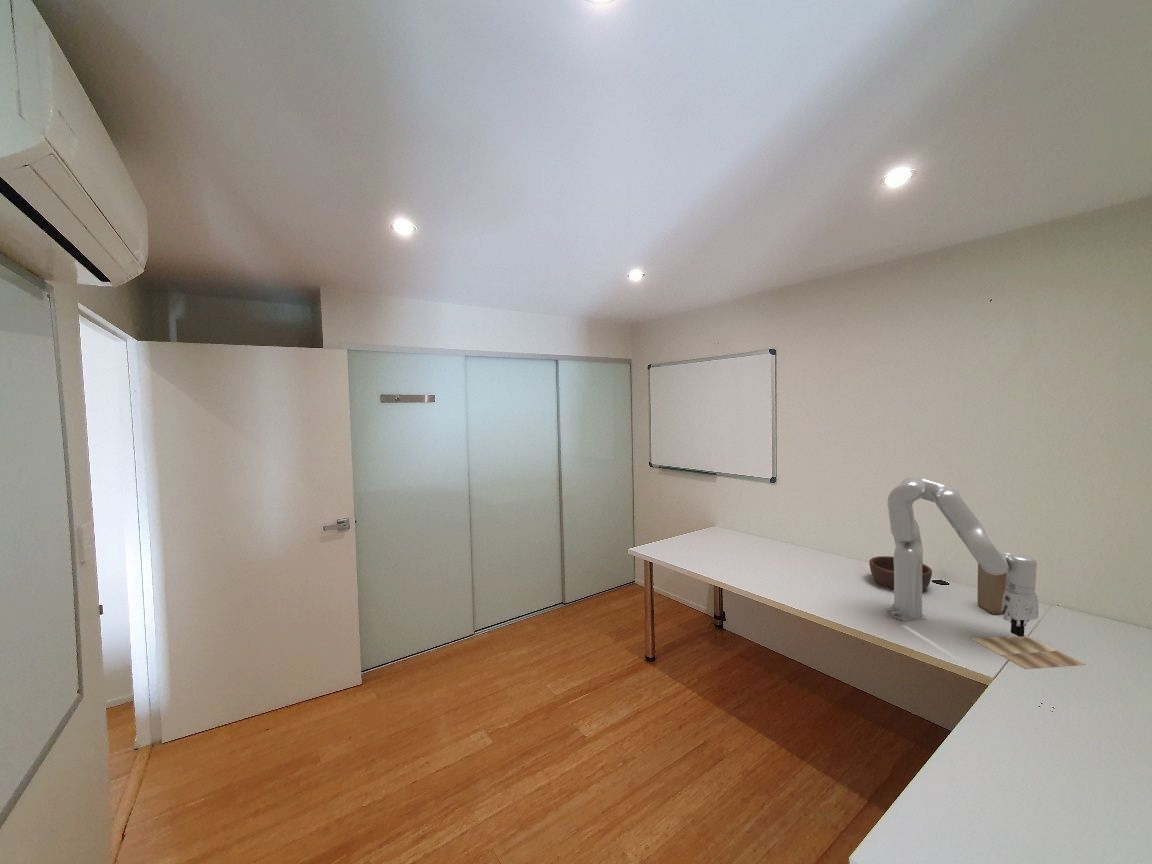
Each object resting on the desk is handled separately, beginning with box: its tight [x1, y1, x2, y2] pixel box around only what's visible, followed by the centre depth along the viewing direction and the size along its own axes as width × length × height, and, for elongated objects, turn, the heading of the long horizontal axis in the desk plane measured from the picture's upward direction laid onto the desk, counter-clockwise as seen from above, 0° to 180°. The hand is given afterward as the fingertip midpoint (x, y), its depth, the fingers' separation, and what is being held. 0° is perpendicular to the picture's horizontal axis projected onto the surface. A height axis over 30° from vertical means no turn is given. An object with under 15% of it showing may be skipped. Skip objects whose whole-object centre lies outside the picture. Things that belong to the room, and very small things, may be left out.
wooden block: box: [977, 562, 1007, 616], centre depth 180 cm, size 10×10×20 cm
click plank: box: [971, 634, 1058, 656], centre depth 154 cm, size 22×10×1 cm, turn 93°
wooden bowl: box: [868, 555, 933, 592], centre depth 209 cm, size 25×25×10 cm
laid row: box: [1000, 650, 1087, 670], centre depth 144 cm, size 22×8×1 cm, turn 93°
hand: (1017, 634), depth 157 cm, fingers closed
